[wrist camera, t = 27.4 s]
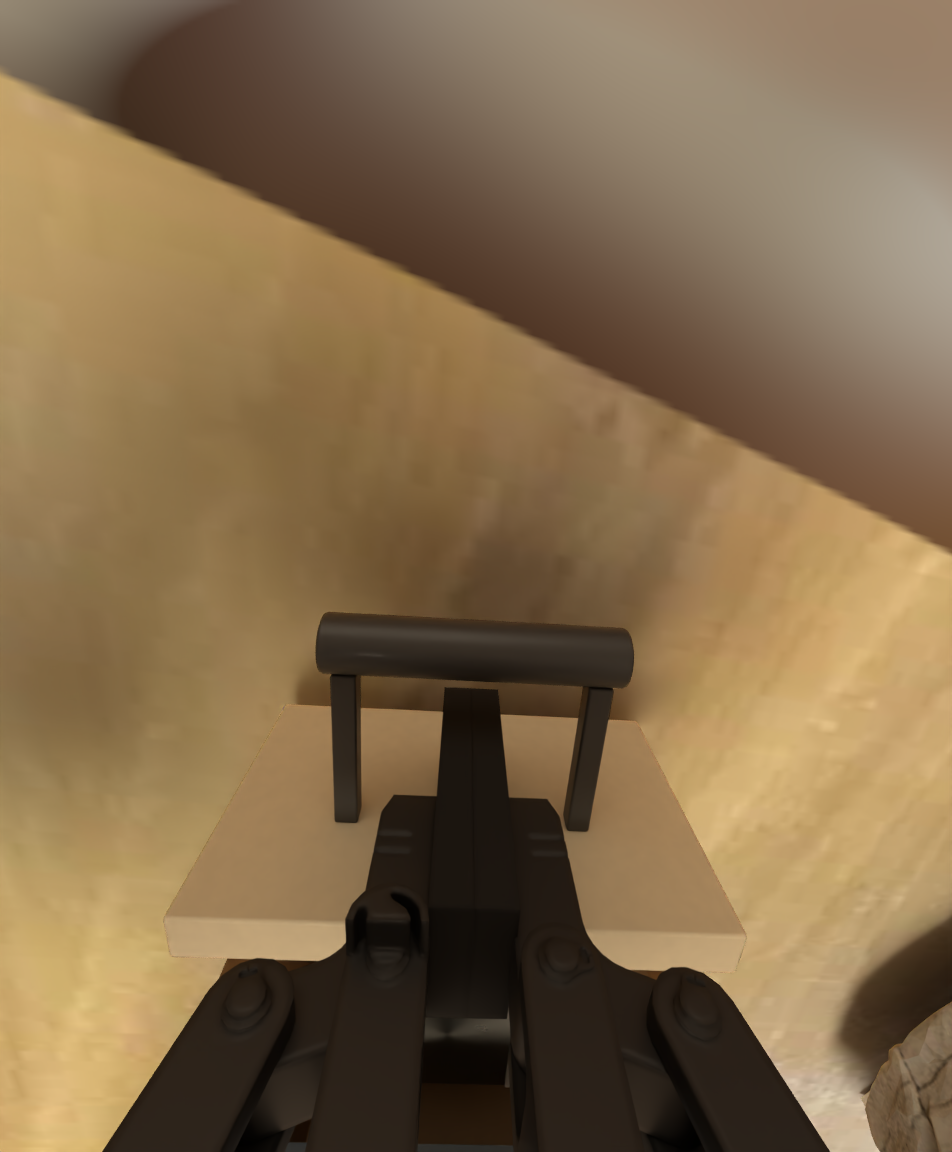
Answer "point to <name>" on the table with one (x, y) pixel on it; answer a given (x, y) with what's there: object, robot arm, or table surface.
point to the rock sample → (915, 1090)
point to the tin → (466, 1051)
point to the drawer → (410, 767)
